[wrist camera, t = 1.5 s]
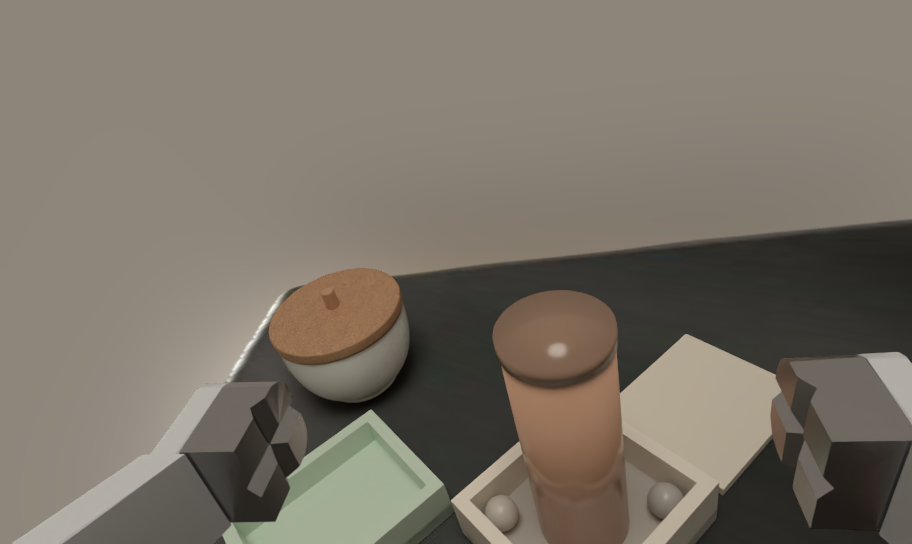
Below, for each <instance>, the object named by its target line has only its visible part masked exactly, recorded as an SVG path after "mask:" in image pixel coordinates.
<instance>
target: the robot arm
mask: <svg viewBox="0 0 912 544" xmlns="http://www.w3.org/2000/svg"><path fill="white" fill-rule="evenodd" d="M776 380H777V383H778V385H779V387H780V389H781V392H780V393H779V394H778V395H777V396H776V397H775V398H773V399H772V405H771V414H770V418H771V428H772V435H773V439H774V442H775V446H776V449H777V451H778V454H779V456H780V459H781V461H782V462H783V463H784V464H786V465H787V466H788V467H790V468H791V469H792V470H794V471H795V477H794V482H793V490H794V492H795V494H796V497H797V499H798V501H799V504H800V506H801V508H802V511H803V513H804V515H805V518H806V520H807V522H808V525H809V527H810V529H828V530H855V531H880V533H879V535H880V536H881V537H882V538H883V539H885V540H886V541H887V542H888V543H889V544H912V363H911V362H910V361H909V360H908V358H907V357H906V356H904V355H902V354H901V353H899V352H889V353H872V354H858V355H842V356H824V357H805V358H786V359H781V361H780V362H779V364H778V367H777V372H776ZM292 398H293V396H292V395H291V393H290V391H289V389H288V387H287V385H286V384H285V383H281V382H237V383H219V384H218V383H217V384H216V383H215V384H205V385H203V386H201V387H199V388H198V389H197V390H196V392H195V393H194V394H193V396H192V397H191V399H190V400H189V401H188V403H187V404H186V406H185V407H184V408H183V410H182V411H181V412H180V414H179V415H178V417H177V418H176V419H175V421H174V422H173V424H172V425H171V426H170V428H169V429H168V431H167V432H166V433H165V435H164V436H163V437H162V439H161V440H160V441H159V443H158V444H157V446H156V447H155V449H154V450H153V451H152V453H151V454H147V455H141V456H140V457H138V458H137V459H136V460H134V461H133V462H131V463H130V464H128V465H127V466H125V467H124V468H122V469H121V470H119V471H118V472H116V473H115V474H113V475H112V476H110V477H109V478H107V479H106V480H104V481H103V482H102V483H100V484H99V485H97V486H96V487H94V488H93V489H91V490H90V491H88V492H87V493H85V494H84V495H82V496H81V497H79V498H78V499H77V500H75V501H73V502H72V503H71V504H69V505H68V506H66V507H65V508H63V509H62V510H60V511H59V512H57V513H56V514H54V515H53V516H51V517H50V518H48V519H47V520H45V521H44V522H43V523H41V524H40V525H38V526H37V527H35V528H34V529H32V530H31V531H29V532H28V533H27V534H25V535H24V536H22V537H20V538H19V539H17V540H16V541H14V542H13V543H12V544H214V543H215V541H216V540H217V539H218V538H219V537H220V536H221V535H222V534H223V533H224V532H225V531H226V530H227V529H228V528H229V527H230V526H231V523H235V522H276V520H277V517H278V515H279V513H280V510H281V508H282V506H283V504H284V501H285V499H286V497H287V495H288V492H289V490H290V485H289V482H288V478H287V477H288V476H289V475H290V474H291V473H293V472H294V471H295V470H296V469H297V468H298V467H300V465H301V462H302V460H303V457H304V455H305V452H306V444H307V431H306V425H305V422H304V420H303V418H302V416H301V414H300V413H298V412H297V411H296V410H294V409H293V408H291V407H290V406H289V405H290V402H291V400H292Z"/></svg>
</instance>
